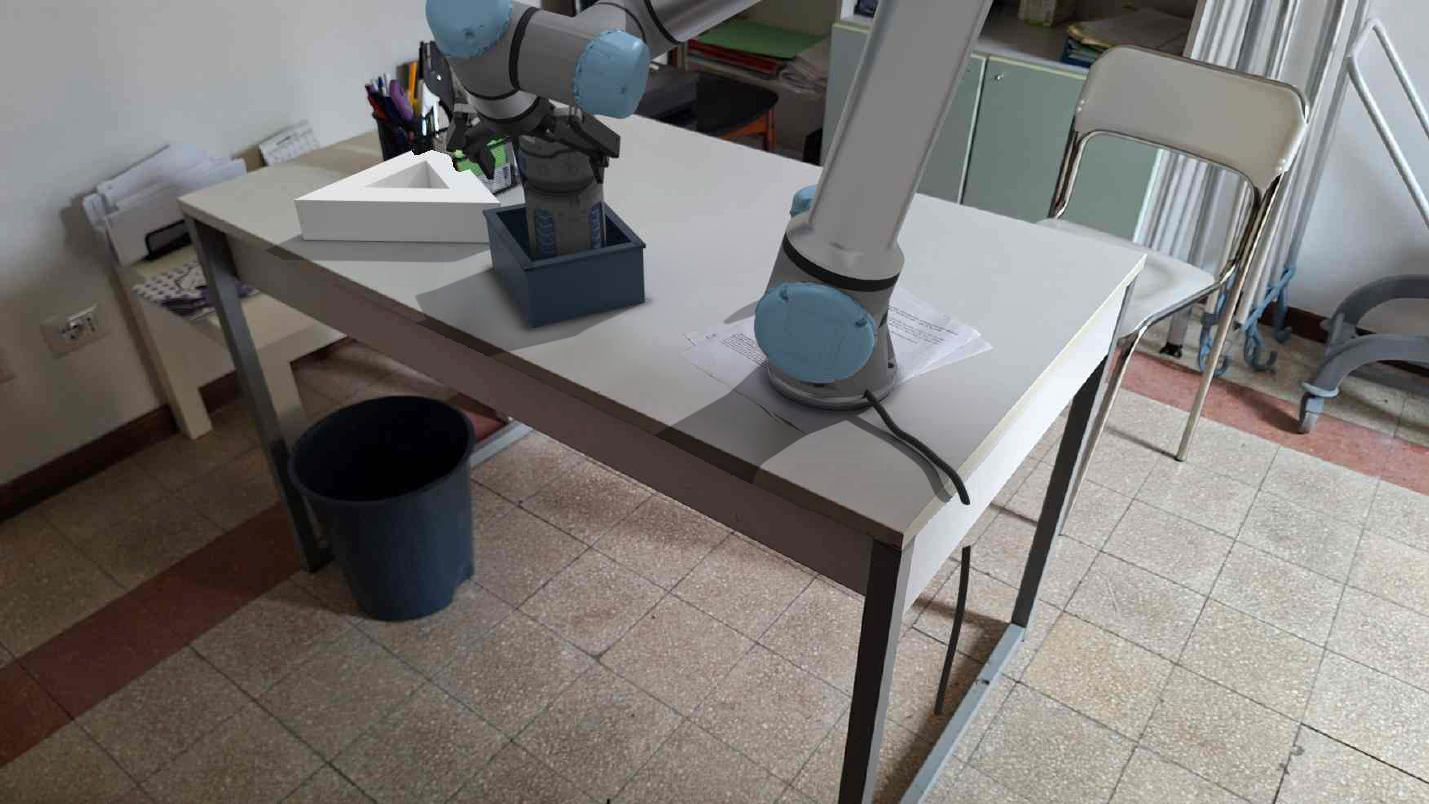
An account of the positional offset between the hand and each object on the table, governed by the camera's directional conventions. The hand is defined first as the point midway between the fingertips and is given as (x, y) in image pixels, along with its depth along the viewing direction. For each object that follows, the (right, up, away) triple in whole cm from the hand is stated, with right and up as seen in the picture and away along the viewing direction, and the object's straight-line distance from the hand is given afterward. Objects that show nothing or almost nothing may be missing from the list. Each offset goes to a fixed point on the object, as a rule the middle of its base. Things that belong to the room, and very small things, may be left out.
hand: (546, 171), depth 122 cm
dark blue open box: (0, -12, +14) cm, 19 cm away
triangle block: (-21, -1, +30) cm, 37 cm away
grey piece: (0, -12, +14) cm, 19 cm away
